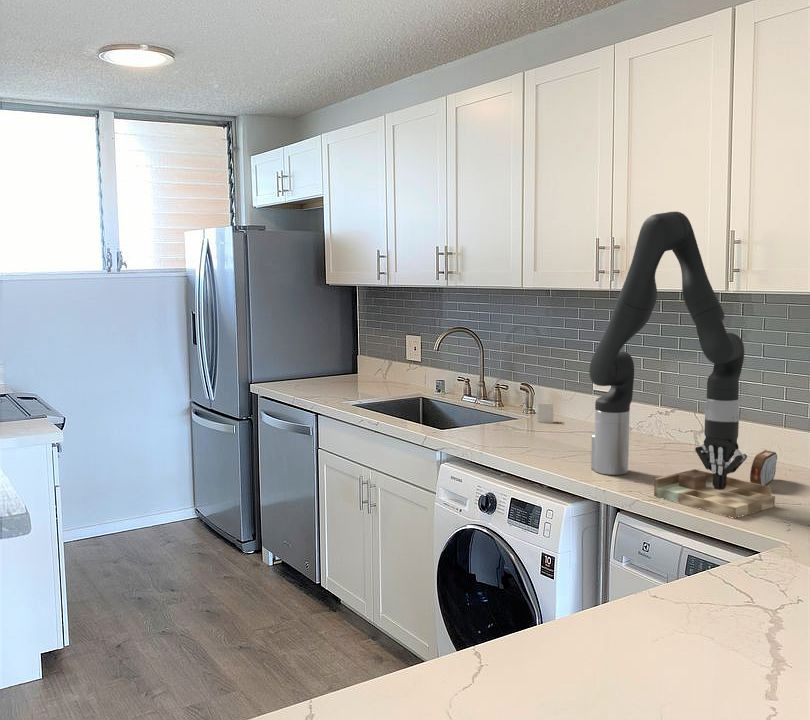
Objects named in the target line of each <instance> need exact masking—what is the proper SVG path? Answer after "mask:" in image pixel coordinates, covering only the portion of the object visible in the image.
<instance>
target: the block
mask: <svg viewBox="0 0 810 720" xmlns="http://www.w3.org/2000/svg"><path fill="white" fill-rule="evenodd" d="M689 471H690V470H689ZM679 486H681V487H685V488H690V489H694V490H695V489H699V488H703V487H706V475H705V474H700V473H695V472H691V471H690V472H686V473H682V474H679Z"/></svg>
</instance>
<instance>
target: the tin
mask: <svg viewBox="0 0 810 720" xmlns="http://www.w3.org/2000/svg"><path fill="white" fill-rule="evenodd" d="M777 460H778V454H777V452H775V451H772V450H771V451H770V450H767V449H764V450H763V451H761V452H759V453H758V454H756V455H755V456H754V459H753V460H752V464H751V468H750V474H749V482H752V483H756V484H760V485H764V486H767V485H769V484H771V483H772V481H773V480H774V477H775V476H776V475H775V474H776V468H777Z"/></svg>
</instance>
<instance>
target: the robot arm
mask: <svg viewBox="0 0 810 720" xmlns="http://www.w3.org/2000/svg"><path fill="white" fill-rule="evenodd" d="M640 227H641V228H640V231H639V234H638V237H637V241H636V244H635V249H634V251H633V252H634V253H633V256H632V260H631V264H630V266H629V269H628V272H627V274H626V277H625V281H624V284H623V285H622V288H621V290H620V292H619V294H618V298H617V301H616V303H615V305H614V309H613V312H612V315H611V317H610V320H609V322H608V324H607V327H606V328H605V332H604V333H603V336H602V337H601V340H600V341H599V343H598V345H597V347H596V349H595V351H594V353H593V355H592V358H591V360H590V363H589V371H588V372H589V373H588V374H589V378H590V381H591V382H592V383H593V384H594V385H596V386H600V387H610V388H609V390H608V391H607V392H606V393H605V394H603V395H601V396H599V397H598V398H596V400H595V403H594V408H595V409H594V435H593V434H592V436H591V449H590V450H591V453H590V455H591V456H590V460H591V461H590V469H591V470H593V471H594V472H596V473H598V474H602V475H610V476H611V475H612V476H614V475H615V476H619V475H621V476H622V475H625V474H628V473H629V449H630V447H629V445H630V413H631V411H630V410H631V404H632V401H633V395H634V383H635V382H634V380H635V365H634V364H635V363H634V360H633V357H632V355H630V353H628V352H626V351H621V350H622V348H623V347H624V346H625V345H626V343H628V342H629V341H630V340H631V339H633V337H634V336H635V335H637V334H638V333H639V332H640V331H641V330H642V329H643V328H644V326H646V325H647V323H648V321H649V320H650V319H651V315H652V313H653V311H654V308H655V306H656V303H657V299H658V288H657V283H656V273H657V269H658V266H659V264H660V262H661V259H662V258H663V255H664V253H665V252H668V251H669V252H670V251H672V252H673V254H674V255H675V257H676V259H677V261H678V264H679V266H680V270H681V271H680V272H681V285H682V287H681V291H682V293H681V294H682V298H683V301H684V304H685V306H686V309H687V311H688V313H689V315H690V317H691V320H692V321H693V322H694V325H695V328H696V333H697V337H698V341H699V345H700V348H701V351H702V353H703V355H704V356H705V357H706V359H707V360H708V361H709V362H710V363H712V364H713V369H712V372H711V374H710V375H709V376H708V378H707V381H706V400H705V406H704V407H705V409H704V434H703V435H704V437H705V438H704V440H703V444H701V445H700V446H695V448H694V450H695V452H696V454H697V456H698V457H699V459H700V461H701V463H702V465H703V466H704V468H705V469H706V470H707V471H711V473H713V483H712V484H713V486H714V489H718V490H723V489H724V488H725V487H726V484H727V477H728V475H729V474H733V473H735V472H736V471H737V470H738V469H739V467H740V466H741V465H742V464H743V463H744V462H745V461H746V460H747V458H748V455H747V454H746V453H742V452H741V450H739V445H738V437H739V427H740V426H739V424H740V422H739V421H740V404H739V389H740V384H739V383H740V382H739V381H740V377H741V373H742V370H743V364H744V359H745V345H744V342H743V340H742V339H741V337H740V336H739V334H736V333H733V332H727V331H726V328H725V325H724V322H723V321H724V319H725V317H726V316H725V312H724V310H723V307H722V306H721V304H720V301H719V299H718V298H717V295H716V293H715V291H714V289H713V287H712V284H711V282H710V280H709V277H708V275H707V272H706V269H705V265H704V263H703V259H702V255H701V251H700V249H699V247H698V246H699V245H698V242H697V239H696V236H695V232H694V228H693V226H692V223H691V222H690V220H689V218H688V217H687V215H686V214H685V213H682V212H680V211H669V212H668V211H667V212H661V213H655V214H652V215H650V216H649V217H647V218H646V219H645V220H644V221H643V223H642V225H641V226H640ZM732 459H733V460H732Z"/></svg>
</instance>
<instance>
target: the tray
mask: <svg viewBox="0 0 810 720" xmlns="http://www.w3.org/2000/svg"><path fill="white" fill-rule="evenodd" d="M690 471H691V472H695V473H700V474H705V475H706V487H703V488H699V489H695V490H694V489H690V488H685V487H681V486H679V474H682V473H686V472H690ZM712 483H713V473H712V472H708V471H704V470H700V469H696V468H695V469H690V470H687V471H681V472H678V473H677V472H676V473H673V474H669V475H663V476H660V477H655V478H654V484H653V486H654V488H653V489H654V490H653V497H654V496H656V497H655V498H658V497H660V498H659V499H661V498H664V499H663V500H665V499H667V500H666V501H669V500H671V501H670V502H672V501H675V502H674V503H676V502H679V503H682V504H681V505H683V504H685V505H684V506H686V505H690V506H693V507H692V508H694V507H697V508H701V509H704V510H709V511H712V512H715V513H718V514H717V515H719V514H722V515H726V516H730V517H733V518H735V517H738V516H742V515H745V516H747V515H746V514H748V515H750V514H749V513H752V514H754V513H753V512H755V513H758V512H760V511H761V510H762V511H764V510H769V509H771V508H774V507H775V502H776V497H775V495H772V487H771V486H769V485H768V486H767V485H766V486H764V485H760V484H756V483H752V482H750V481H747V480H743V479H738V478H734V477H729V476H727V484H726V487H725V488H724V489H723V490H718V489H714V486H713V484H712ZM679 503H678V504H679ZM690 506H689V507H690ZM697 508H696V509H697ZM701 509H700V510H701ZM704 510H703V511H704ZM715 513H714V514H715ZM722 515H721V516H722ZM726 516H725V517H726ZM742 517H743V516H742ZM733 518H732V519H733ZM738 518H739V517H738ZM735 519H736V518H735Z"/></svg>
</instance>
